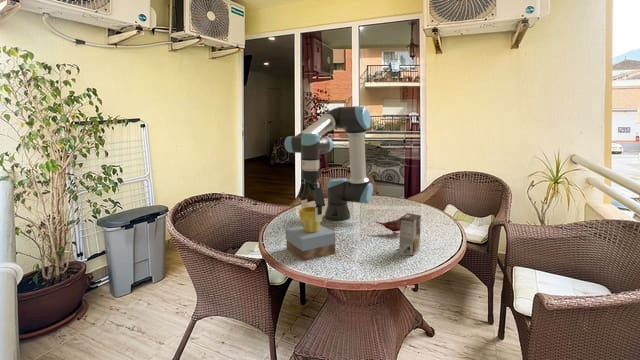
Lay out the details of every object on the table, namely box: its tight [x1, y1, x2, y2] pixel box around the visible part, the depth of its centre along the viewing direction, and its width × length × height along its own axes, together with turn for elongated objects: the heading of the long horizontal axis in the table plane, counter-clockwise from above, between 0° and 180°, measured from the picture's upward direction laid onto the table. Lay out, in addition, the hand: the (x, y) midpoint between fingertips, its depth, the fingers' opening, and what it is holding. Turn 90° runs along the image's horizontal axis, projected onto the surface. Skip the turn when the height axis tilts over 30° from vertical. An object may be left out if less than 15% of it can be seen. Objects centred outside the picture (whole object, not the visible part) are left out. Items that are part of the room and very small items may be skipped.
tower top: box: [285, 224, 336, 251], centre depth 152 cm, size 16×16×5 cm
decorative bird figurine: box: [375, 215, 404, 235], centre depth 174 cm, size 3×18×10 cm, turn 80°
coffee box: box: [398, 212, 422, 256], centre depth 151 cm, size 9×6×16 cm
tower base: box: [286, 240, 336, 262], centre depth 153 cm, size 16×16×5 cm
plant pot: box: [298, 205, 324, 233], centre depth 151 cm, size 10×10×10 cm
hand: (311, 217), depth 151 cm, fingers open, 13 cm apart
